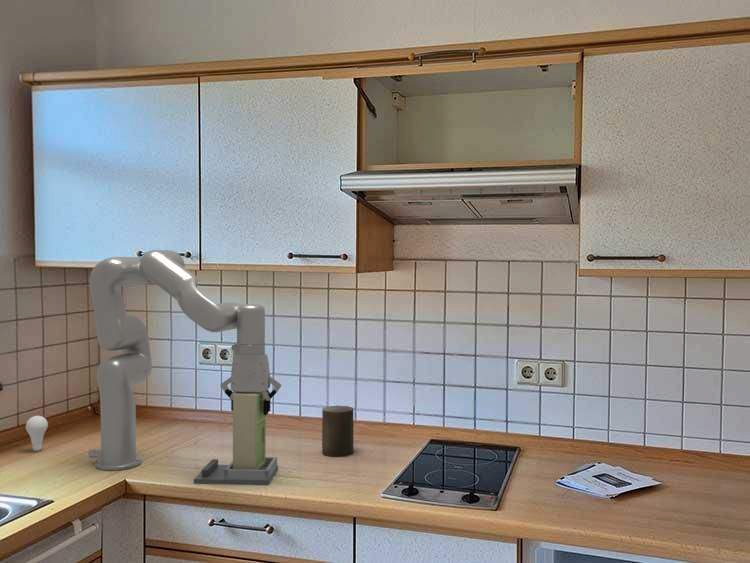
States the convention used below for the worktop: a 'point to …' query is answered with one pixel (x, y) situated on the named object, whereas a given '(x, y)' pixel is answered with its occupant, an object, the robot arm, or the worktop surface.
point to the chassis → (237, 474)
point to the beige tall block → (249, 431)
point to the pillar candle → (337, 431)
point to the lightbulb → (36, 430)
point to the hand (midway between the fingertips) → (250, 413)
